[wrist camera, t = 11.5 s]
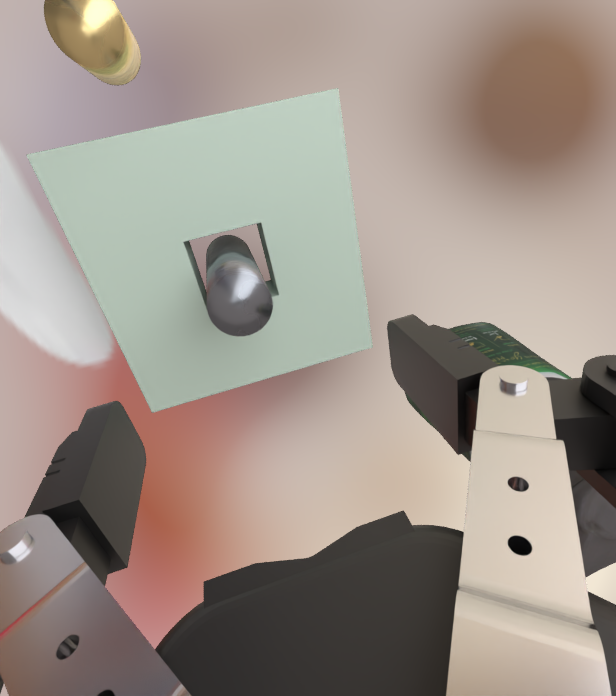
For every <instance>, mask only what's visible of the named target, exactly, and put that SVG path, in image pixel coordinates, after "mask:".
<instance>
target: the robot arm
mask: <svg viewBox="0 0 616 696" xmlns="http://www.w3.org/2000/svg"><path fill="white" fill-rule="evenodd" d="M387 330H388V339H389V349H390V357H391V367H392V371H393V374H394V377H395V379H396V381H397V382H398V384H399V385H400V387H401V388H402V389H403V390H404V391H405V392H406V394H407V395H408V396H409V397H410V398H411V400H412V401H413V402H414V403H415V404H416V405H417V407H418V408H419V409H420V410H421V411H422V413H423V414H424V415H425V416H426V417H427V419H428V420H429V421H430V422H431V423H432V424H433V426H434V427H435V428H436V429H437V430H438V432H439V433H440V434H441V435H442V436H443V437H444V439H445V440H446V441H447V442H448V443H449V445H450V446H451V447H452V448H453V449H454V451H455V452H456V453H457V454H458V455H459V454H462V453H465V452H468V451H471V450H472V454H471V464H470V474H469V485H468V495H467V505H466V515H465V526H464V532H462V531H459V530H455V529H451V528H447V527H441V526H434V525H413V526H412V525H411V523H410V521H409V519H408V517H407V516H406V514H405V512H404V511H401V512H398V513H396V514H392V515H390V516H387V517H384V518H381V519H378V520H375V521H373V522H370V523H367V524H364V525H361V526H359V527H356V528H355V529H353V530H352V531H350V532H349V533H347V534H346V535H344V536H343V537H341V538H340V539H338V540H337V541H335V542H334V543H332V544H331V545H329V546H327V547H326V548H324V549H323V550H322V551H320V552H318V553H317V554H315V555H314V556H312V557H309V558H304V559H294V560H285V561H274V562H264V563H255V564H252V565H250V566H247V567H244V568H241V569H238V570H236V571H232V572H230V573H227V574H224V575H221V576H218V577H216V578H213V579H210V580H207V581H204V601H203V602H202V603H200V604H199V605H198V606H196V607H195V608H194V609H192V610H191V611H190V612H189V613H187V614H186V615H185V616H184V617H183V618H182V619H181V620H180V621H179V622H178V623H177V624H176V625H175V626H174V627H173V628H172V629H171V630H170V631H169V632H168V634H167V635H166V636H165V637H164V638H163V639H162V641H161V642H160V643H159V645H158V646H157V648H156V649H154V648H153V647H152V646H151V644H150V643H149V642H148V641H147V639H146V638H145V637H144V636H143V634H142V633H141V632H140V630H139V629H138V628H137V627H136V625H135V624H134V623H133V622H132V620H131V619H130V618H129V617H128V615H127V614H126V613H125V612H124V610H123V609H122V608H121V607H120V605H119V604H118V603H117V601H116V600H115V599H114V598H113V596H112V595H111V594H110V593H109V592H108V590H107V589H106V588H105V584H106V579H107V575H108V574H110V573H113V572H115V571H119V570H121V569H124V568H127V567H128V561H129V555H130V550H131V545H132V539H133V533H134V528H135V522H136V517H137V510H138V505H139V500H140V494H141V489H142V483H143V477H144V472H145V466H146V454H145V449H144V446H143V443H142V441H141V439H140V437H139V435H138V433H137V432H136V430H135V428H134V426H133V424H132V422H131V420H130V419H129V417H128V415H127V413H126V411H125V409H124V407H123V406H122V405H121V403H120V402H118V401H114V402H110V403H107V404H103V405H100V406H97V407H93V408H90V409H88V410H87V411H86V413H85V415H84V417H83V420H82V422H81V424H80V426H79V429H78V431H75V432H72V433H71V434H70V435H69V436H68V437H67V438H66V440H65V441H64V442H63V443H62V444H61V445H60V446H59V447H58V449H57V451H56V453H55V455H54V457H53V459H52V461H51V463H52V464H51V465H50V466H49V468H48V470H47V472H46V474H45V475H46V477H44V478H43V480H42V483H41V484H40V486H39V488H38V490H37V493H36V494H35V496H34V499H33V501H32V503H31V505H30V507H29V509H28V511H27V513H26V515H25V517H24V518H23V519H21V520H19V521H16V522H14V523H13V524H11V525H9V526H8V527H6V528H5V529H3V530H2V531H1V532H0V693H1V690H2V687H3V684H5V687H6V689H7V692H8V694H9V696H616V605H615V604H613V603H611V602H609V601H607V600H604V599H603V598H600V597H598V596H596V595H594V594H592V593H590V592H588V591H587V584H586V578H585V572H584V565H583V559H582V552H581V546H580V540H579V533H578V527H577V520H576V514H575V508H574V501H573V495H572V489H571V482H570V476H569V471H576V472H577V473H578V474H579V475H580V476H581V477H582V478H584V479H585V480H586V481H587V482H588V483H589V484H590V485H591V486H592V487H593V488H594V489H595V490H596V491H597V492H598V493H599V494H601V495H602V496H603V497H604V498H605V499H606V500H607V501H608V502H609V503H610V504H611V505H612V506H613V507H614V508H615V509H616V355H606V356H599V357H595V358H592V359H590V360H588V361H587V362H586V363H585V365H584V368H583V374H582V378H572V379H561V380H549V381H547V379H546V378H545V377H544V376H543V375H542V374H540V373H539V372H537V371H535V370H532V369H530V368H526V367H522V366H514V365H505V366H499V365H498V364H496V363H495V362H494V361H492V360H491V359H490V358H488V357H487V356H485V355H484V354H483V353H481V352H480V351H478V350H477V349H476V348H474V347H473V346H470V344H469V343H467V342H466V341H465V340H463V339H461V338H460V337H459V336H458V335H456V334H455V333H454V332H452V331H451V330H449V329H446V328H442V327H440V326H436V325H431V326H428V325H427V324H425V323H424V322H423V321H421V320H420V319H419V318H418V317H416V316H415V315H413V314H412V315H408V316H405V317H402V318H398V319H395V320H391V321H389V322H388V326H387Z"/></svg>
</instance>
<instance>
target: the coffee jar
mask: <svg viewBox="0 0 616 696" xmlns="http://www.w3.org/2000/svg"><path fill="white" fill-rule="evenodd" d="M449 330H451V331H452V332H454V333H455V334H456V335H458V336H459V337H460V338H461V339H463V340H465V341H466V342H467V343H469V344H470V346H473V347H474V348H476V349H477V350H478V351H480V352H481V353H483V354H484V355H485V356H487V357H488V358H490V359H491V360H492V361H494V362H495V363H496V364H498V365H499V366H505V365H514V366H522V367H526V368H530V369H532V370H535V371H537V372H539V373H540V374H542V375H543V376H544V377H545V378H546V379H547V381H549V380H561V379H572V378H571V377H569V376H568V375H566V374H565V373H563V372H562V371H561V370H559V369H557V368H556V367H554V366H553V365H551V364H549V363H548V362H547V361H545V360H544V359H542V358H541V357H539V356H538V355H537V354H535V353H534V352H532V351H531V350H530V349H528V348H527V347H526V346H524V345H523V344H521V343H520V342H519V341H517V340H516V339H514V338H513V337H511V336H510V335H508V334H507V333H506V332H504V331H503V330H501V329H499V328H497V327H496V326H494V325H492V324H490V323H485V322H479V323H472V324H466V325H461V326H457V327H453V328H450V329H449ZM405 394H406V392H405ZM406 397H407V400H408V401H409V403H410V404H411V405H412V406H413V407H414V409H415V410H416V411H417V412H418V413H419V414H420V415H421V416H422V417H423V418H424V419H425V420H426V421H427V422H428V423H429V424H430V425H432V426H433V424H432V423H431V422H430V421H429V420H428V419H427V417H426V416H425V415H424V414H423V413H422V411H421V410H420V409H419V408H418V407H417V405H416V404H415V403H414V402H413V401H412V400H411V398H410V397H409V396H408V395H407V394H406ZM433 427H434V426H433ZM434 428H435V427H434ZM435 429H436V428H435ZM436 430H437V429H436ZM437 431H438V430H437ZM462 454H463V455H464V456H465V457H466V458H467V459H468V460H469V461H470V462H471V454H472V450H471V451H468V452H465V453H462ZM569 476H570V482H571V489H572V495H573V501H574V508H575V514H576V520H577V527H578V533H579V540H580V546H581V552H582V559H583V565H584V572H585V578H586V577H587V576H589V575H591V574H593V573H594V572H596V571H598V570H600V569H602V568H605V567H607V566H609V565H611V564H613V563H615V562H616V509H615V508H614V507H613V506H612V505H611V504H610V503H609V502H608V501H607V500H606V499H605V498H604V497H603V496H602V495H601V494H599V493H598V492H597V491H596V490H595V489H594V488H593V487H592V486H591V485H590V484H589V483H588V482H587V481H586V480H585V479H584V478H582V477H581V476H580V475H579V474H578V473H577V472H576V471H569Z"/></svg>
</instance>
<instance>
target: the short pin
mask: <svg viewBox="0 0 616 696" xmlns="http://www.w3.org/2000/svg"><path fill="white" fill-rule="evenodd" d="M44 15H45V21H46V25H47V28H48V30H49V33H50V35H51V37H52V38H53V40H54V42H55V43H56V44H57V46H58V47H59V48H60V49H61V50H62V51H63V52H64V53H65V54H66V55H67V56H68V57H70V58H71V59H72V60H74V61H75V62H76V63H78V64H79V65H80V66H82V67H83V68H84V69H86V70H87V71H88V72H90V73H91V74H93V75H94V76H95V77H97V78H98V79H99V80H101V81H103V82H105V83H107V84H110V85H123V84H127V83H129V82H130V81H132V80H133V79H134V78H135V77H136V75H137V73H138V71H139V69H140V64H141V54H140V49H139V46H138V43H137V41H136V39H135V37H134V35H133V33H132V32H131V30H130V28H129V27H128V25H127V23H126V21H125V20H124V18H123V16H122V15H121V13H120V11H119V9H118V8H117V6H116V4H115V3H114V1H113V0H45V4H44Z"/></svg>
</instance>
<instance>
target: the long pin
mask: <svg viewBox="0 0 616 696" xmlns="http://www.w3.org/2000/svg"><path fill="white" fill-rule="evenodd" d="M206 269H207V312H208V315H209V318H210V320H211V321H212V323H213V324H214V325H215V326H216V327H217V328H218V329H219V330H220V331H222V332H224V333H226V334H228V335H232V336H248V335H251V334H254V333H256V332H258V331H259V330H261V329H262V328H263V327H264V326H265V325H266V324H267V322H268V321H269V319H270V317H271V314H272V310H273V300H272V296H271V294H270V291H269V289H268V287H267V285H266V283H265V281H264V279H263V277H262V275H261V273H260V271H259V268H258V266H257V264H256V262H255V260H254V258H253V256H252V254H251V252H250V250H249V248H248V246H247V244H246V243H245V242H244V241H243V240H241V239H240V238H238V237H236V236H232V235H224V236H220V237H218V238H217V239H215V240H214V241H212V243H211V244H210V245H209V247H208V249H207V254H206Z"/></svg>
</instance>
